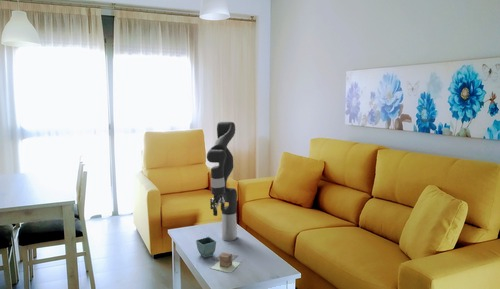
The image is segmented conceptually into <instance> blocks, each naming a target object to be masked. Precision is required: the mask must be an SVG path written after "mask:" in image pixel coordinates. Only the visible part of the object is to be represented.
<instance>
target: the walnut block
mask: <svg viewBox="0 0 500 289" xmlns="http://www.w3.org/2000/svg"><path fill="white" fill-rule="evenodd" d="M222 253H223V254H221V253H220V254H221V255H220V254H219V255H220V256H219V255H218V256H219V259H220V267H224V268H229V267H230V266H231V265H232V261H233V260H232V254H233V253H230V252H229V253H228V252H222Z"/></svg>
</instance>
